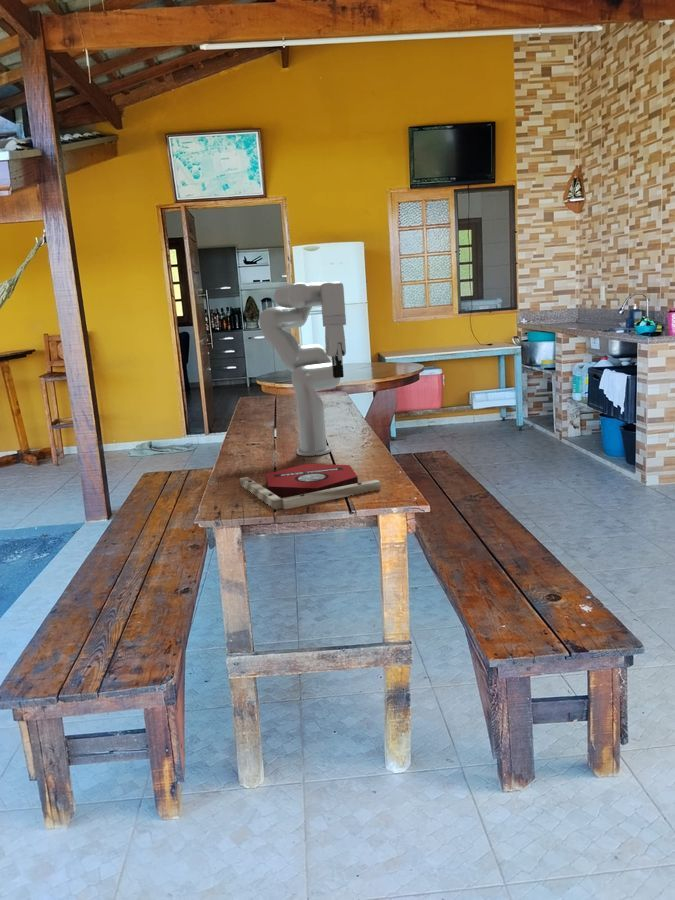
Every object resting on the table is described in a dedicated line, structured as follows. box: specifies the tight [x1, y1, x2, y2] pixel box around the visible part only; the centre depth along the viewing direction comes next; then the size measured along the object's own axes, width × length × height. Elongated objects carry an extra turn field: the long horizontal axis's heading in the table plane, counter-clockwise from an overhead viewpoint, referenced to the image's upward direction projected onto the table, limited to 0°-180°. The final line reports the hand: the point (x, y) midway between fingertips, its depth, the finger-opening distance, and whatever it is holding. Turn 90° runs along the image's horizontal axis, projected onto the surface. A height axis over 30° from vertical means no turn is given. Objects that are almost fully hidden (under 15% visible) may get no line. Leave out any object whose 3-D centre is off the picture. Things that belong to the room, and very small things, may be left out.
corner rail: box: [239, 476, 381, 510], centre depth 221 cm, size 32×32×3 cm
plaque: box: [265, 463, 359, 498], centre depth 224 cm, size 27×4×30 cm
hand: (338, 377), depth 241 cm, fingers closed
